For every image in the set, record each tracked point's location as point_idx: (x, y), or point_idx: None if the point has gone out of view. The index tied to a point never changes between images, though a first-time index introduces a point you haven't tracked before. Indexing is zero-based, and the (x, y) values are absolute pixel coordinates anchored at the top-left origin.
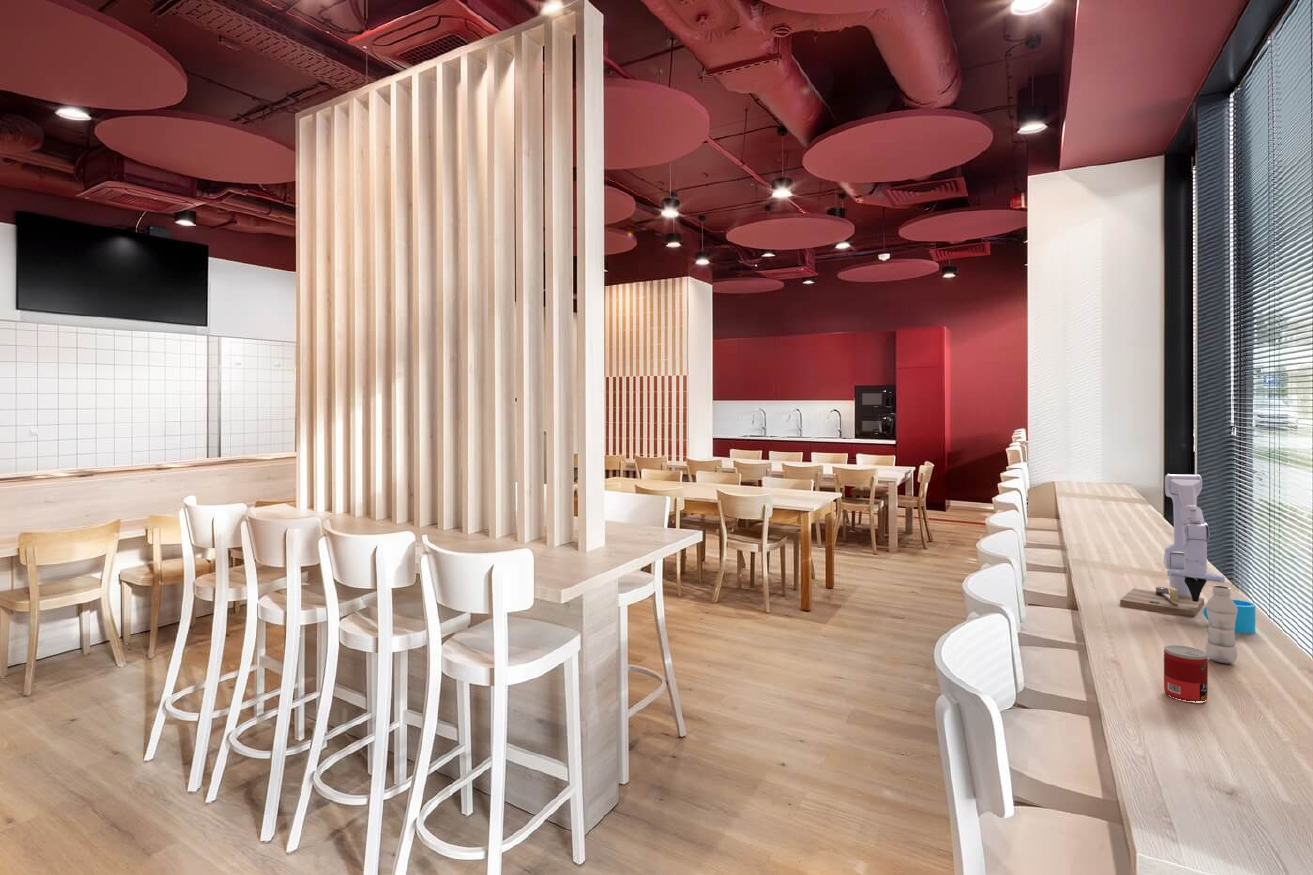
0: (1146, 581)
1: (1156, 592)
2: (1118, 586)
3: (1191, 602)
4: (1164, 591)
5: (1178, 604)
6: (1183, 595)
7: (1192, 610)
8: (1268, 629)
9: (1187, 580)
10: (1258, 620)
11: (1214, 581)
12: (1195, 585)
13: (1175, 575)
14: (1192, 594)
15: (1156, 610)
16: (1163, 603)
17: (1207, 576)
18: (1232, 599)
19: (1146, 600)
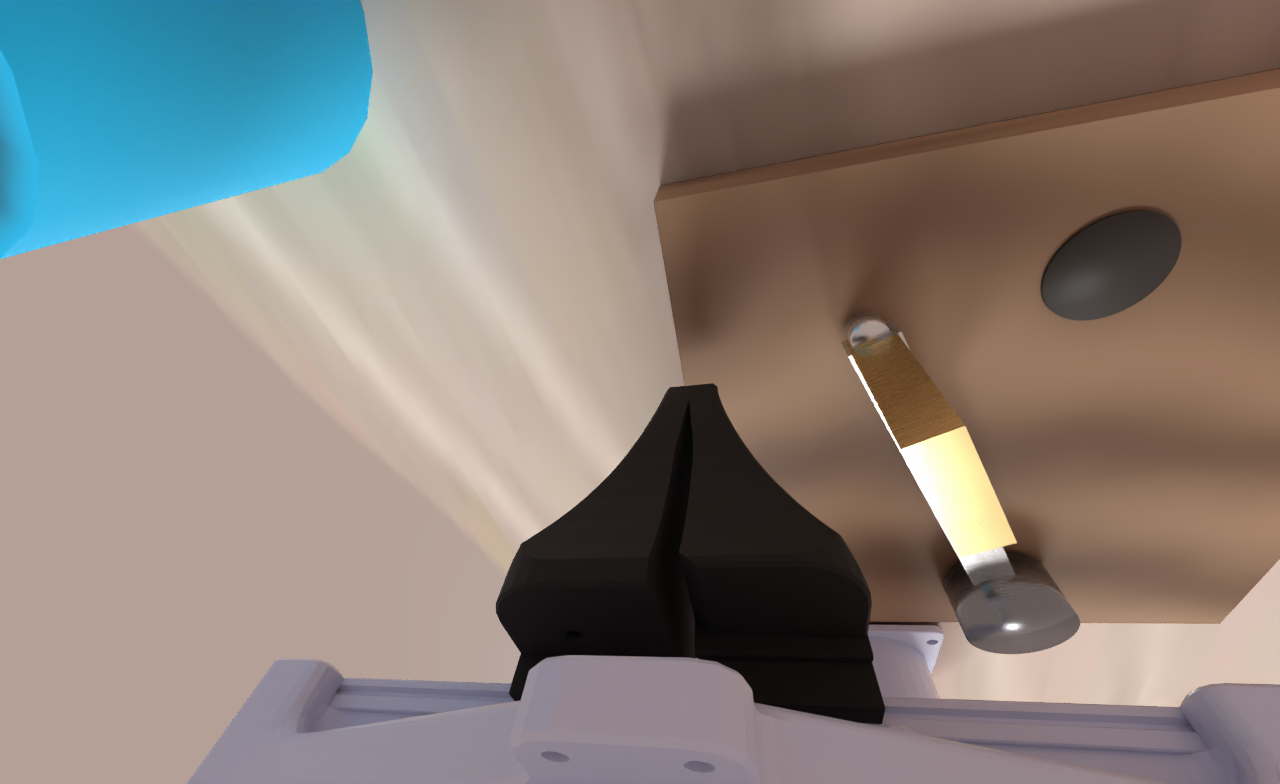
0: None
1: (1049, 575)
2: (1252, 672)
3: None
4: (994, 588)
5: (844, 364)
6: None
7: (676, 209)
8: (188, 261)
9: (808, 608)
10: (382, 444)
11: (413, 683)
12: (657, 520)
13: (1106, 741)
14: (712, 423)
15: (1053, 114)
16: (997, 293)
17: (386, 777)
18: (15, 225)
19: (1204, 290)
